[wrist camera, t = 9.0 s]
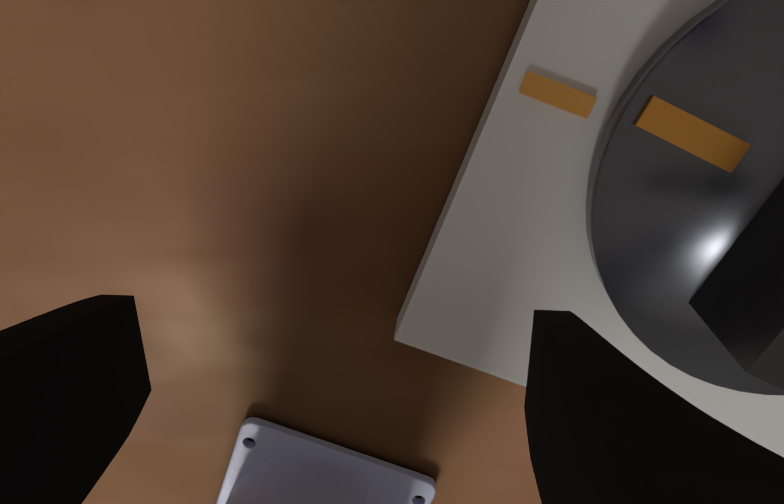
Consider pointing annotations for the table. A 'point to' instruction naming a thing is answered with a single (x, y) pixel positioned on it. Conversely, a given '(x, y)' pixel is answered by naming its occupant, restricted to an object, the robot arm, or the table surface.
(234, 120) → the table surface
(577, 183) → the dial panel
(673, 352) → the dial
